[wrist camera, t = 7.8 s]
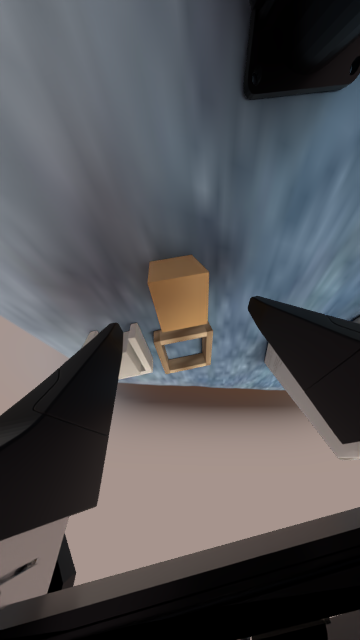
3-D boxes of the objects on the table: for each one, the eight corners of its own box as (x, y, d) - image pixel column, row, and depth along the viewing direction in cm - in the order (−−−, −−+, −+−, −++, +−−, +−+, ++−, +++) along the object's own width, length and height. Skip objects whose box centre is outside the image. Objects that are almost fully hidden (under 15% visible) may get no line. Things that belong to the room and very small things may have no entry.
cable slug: (130, 330, 17) (126, 352, 14) (142, 352, 20) (140, 374, 17) (107, 334, 17) (98, 357, 14) (123, 356, 20) (118, 378, 17)
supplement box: (262, 362, 28) (336, 461, 17) (267, 338, 23) (383, 462, 11) (304, 349, 28) (410, 444, 16) (319, 321, 22) (502, 436, 10)
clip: (137, 322, 16) (134, 337, 14) (152, 358, 21) (152, 372, 19) (90, 331, 16) (81, 347, 14) (117, 365, 21) (113, 380, 19)
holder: (207, 320, 18) (213, 330, 16) (206, 354, 23) (210, 364, 21) (153, 331, 17) (153, 342, 16) (165, 363, 22) (165, 374, 21)
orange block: (191, 254, 12) (209, 272, 8) (193, 296, 15) (207, 323, 11) (149, 261, 12) (147, 283, 8) (160, 302, 15) (162, 332, 11)
